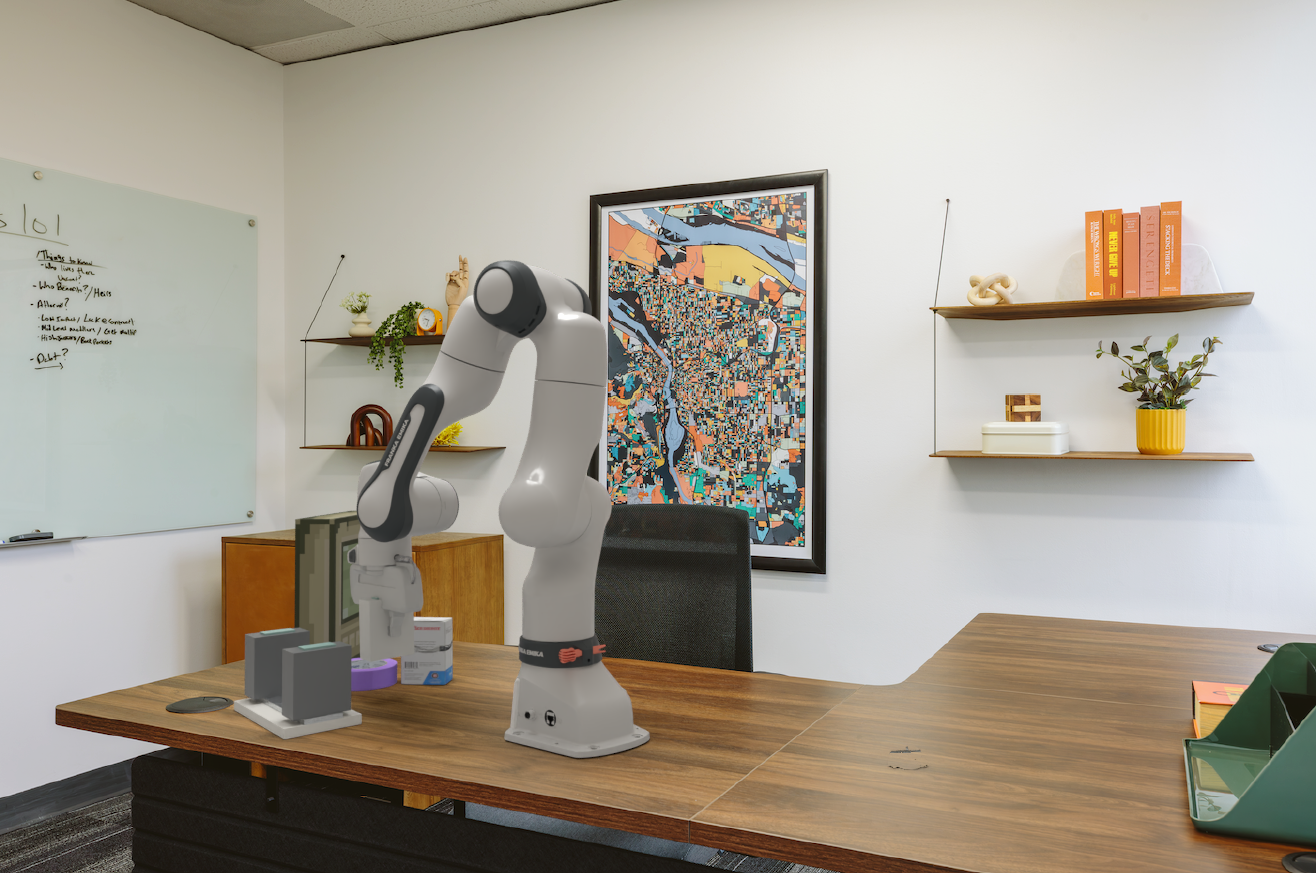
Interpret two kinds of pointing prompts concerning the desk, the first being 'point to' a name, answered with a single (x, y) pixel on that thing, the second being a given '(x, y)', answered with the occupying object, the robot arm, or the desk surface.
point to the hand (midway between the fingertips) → (387, 634)
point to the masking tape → (372, 674)
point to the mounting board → (287, 727)
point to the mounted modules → (298, 672)
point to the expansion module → (382, 632)
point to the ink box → (430, 653)
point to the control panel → (326, 578)
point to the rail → (277, 705)
